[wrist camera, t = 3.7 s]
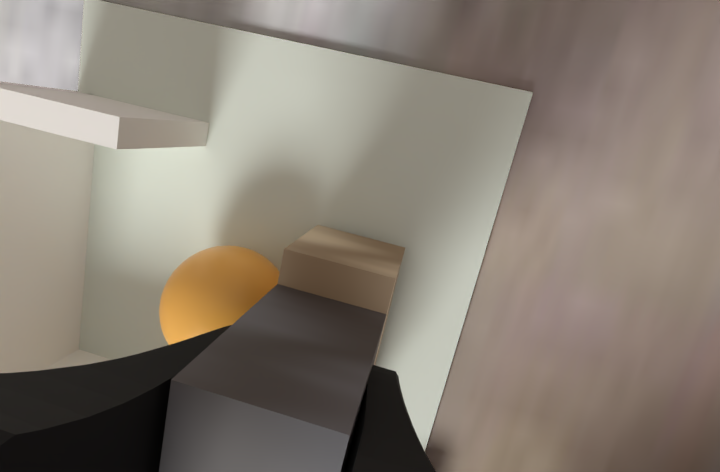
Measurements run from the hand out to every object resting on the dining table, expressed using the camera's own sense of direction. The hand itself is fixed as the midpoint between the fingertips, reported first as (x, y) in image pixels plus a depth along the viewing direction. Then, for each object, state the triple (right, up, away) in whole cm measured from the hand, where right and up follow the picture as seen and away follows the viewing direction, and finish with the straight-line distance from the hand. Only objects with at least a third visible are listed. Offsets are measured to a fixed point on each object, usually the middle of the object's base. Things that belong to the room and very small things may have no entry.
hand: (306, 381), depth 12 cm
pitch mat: (-3, +1, +5) cm, 6 cm away
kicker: (0, -1, +5) cm, 5 cm away
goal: (-8, +3, +6) cm, 10 cm away
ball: (-3, +1, +3) cm, 4 cm away
